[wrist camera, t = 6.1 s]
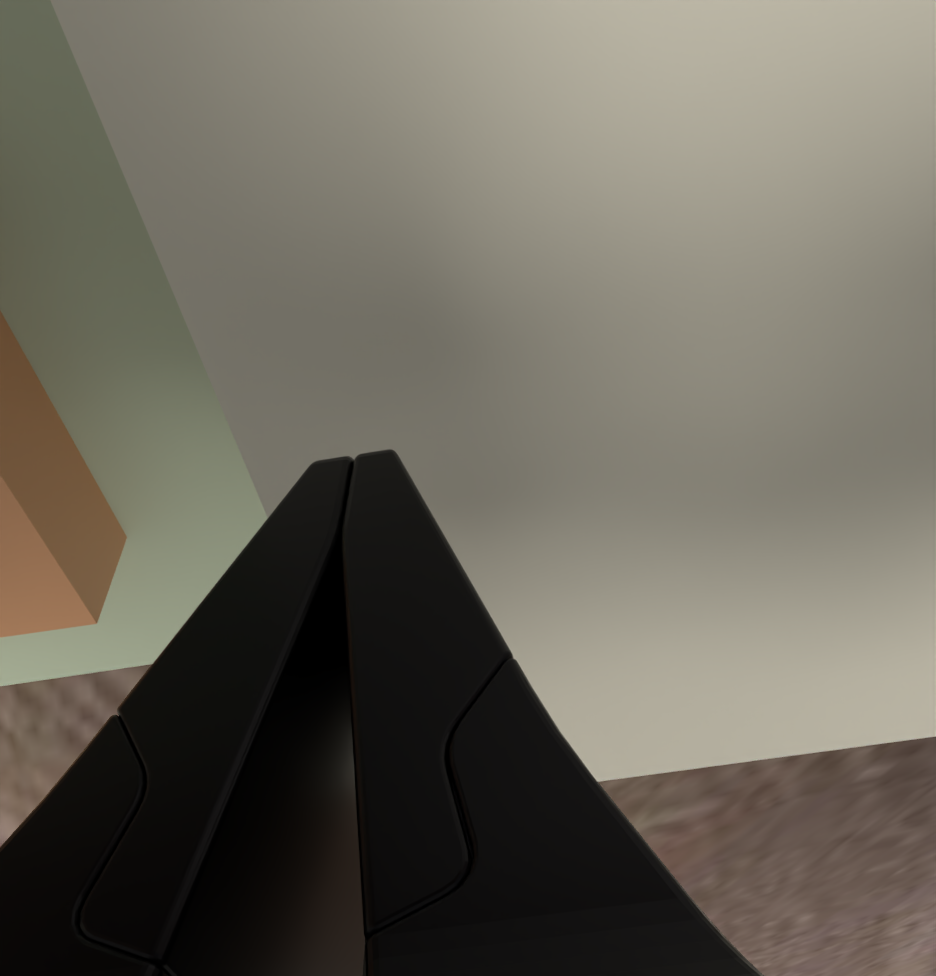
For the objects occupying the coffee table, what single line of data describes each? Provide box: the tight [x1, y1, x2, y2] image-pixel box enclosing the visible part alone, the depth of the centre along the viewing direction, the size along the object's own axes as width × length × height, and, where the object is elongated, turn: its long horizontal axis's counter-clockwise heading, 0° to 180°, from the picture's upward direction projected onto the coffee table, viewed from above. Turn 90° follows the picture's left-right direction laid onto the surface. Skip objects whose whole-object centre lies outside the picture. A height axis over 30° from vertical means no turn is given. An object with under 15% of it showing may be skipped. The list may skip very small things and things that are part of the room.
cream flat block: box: [50, 0, 936, 782], centre depth 11 cm, size 16×12×4 cm
